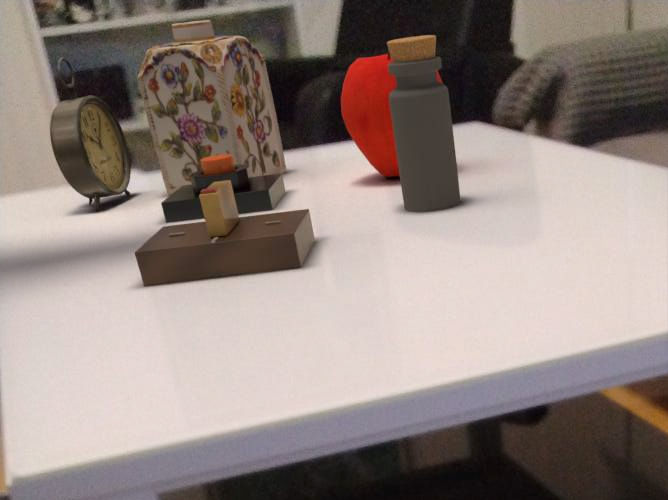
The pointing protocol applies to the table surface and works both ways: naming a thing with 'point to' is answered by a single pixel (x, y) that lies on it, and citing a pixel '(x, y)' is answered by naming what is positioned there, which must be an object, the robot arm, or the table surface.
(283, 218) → the plate
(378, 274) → the table surface
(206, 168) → the bell button
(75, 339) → the table surface
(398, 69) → the bottle
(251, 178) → the button base
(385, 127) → the apple
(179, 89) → the decorative jar
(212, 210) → the tan rectangular block
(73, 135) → the alarm clock
